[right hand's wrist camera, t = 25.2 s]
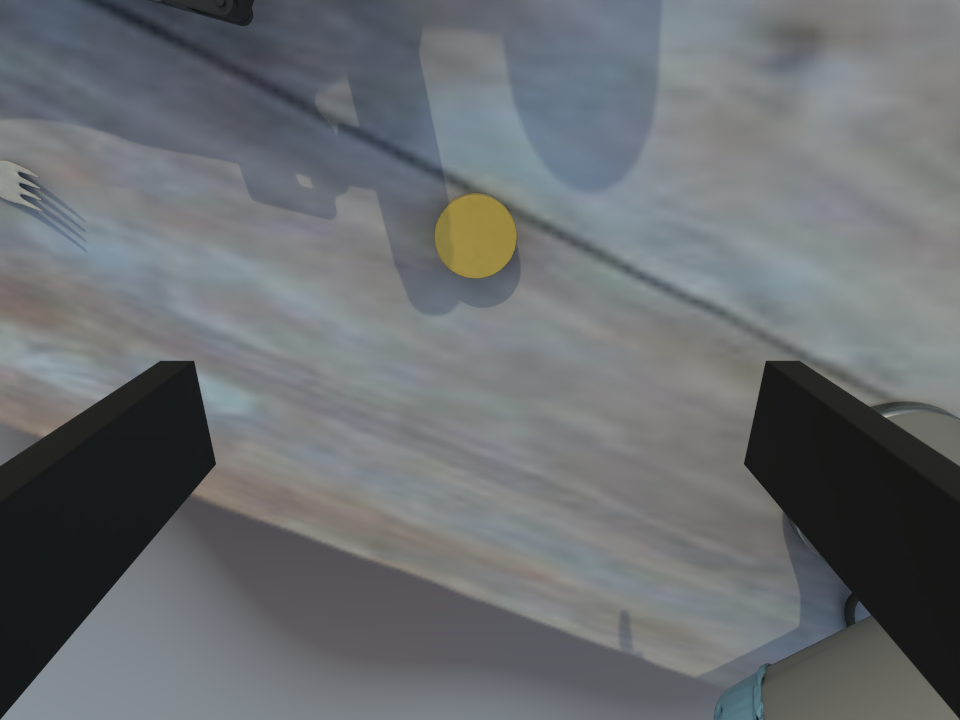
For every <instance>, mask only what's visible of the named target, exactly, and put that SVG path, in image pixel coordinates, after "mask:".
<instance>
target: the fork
mask: <svg viewBox="0 0 960 720" xmlns="http://www.w3.org/2000/svg"><path fill="white" fill-rule="evenodd" d="M18 172H23V173H26V174H29V175H32V176H35V177H38V178H39V176H38V175H36V174H35V173H33V172H31V171H29V170H27V169H25V168H23V167H21V166H19V165H16V164H14V163H12V162H9V161H0V197H1V198H3V199H6V200H8V201H10V202H14V203H18V204H22V205H25V206H28V207H31V208H34V209H36V210H38V211H40V212H43V210H41V209H40V208H38V207H36V206H35V205H33V204H31V203H30V202H28V201H26V200H24V199H23V198H22V197H21V194H24V195H27V196H30V197H33V198H35V199H38V200H42V199H40V198H39V197H37V196H36V195H34V194H32V193H30V192H28V191H27V190H25V189H23V188H21V187H20V185H19V184H20V183H23V184H26V185H29V186H32V187H35V188H38V189H41V188H40V187H38V186H37V185H35V184H33V183H31V182H29V181H28V180H26V179H24V178H22V177H20V176H19V174H18Z"/></svg>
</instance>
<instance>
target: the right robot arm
mask: <svg viewBox="0 0 960 720" xmlns="http://www.w3.org/2000/svg"><path fill="white" fill-rule="evenodd" d="M215 465H216V462H215V457H214V452H213V448H212V443H211V438H210V434H209V429H208V424H207V420H206V415H205V410H204V405H203V401H202V396H201V391H200V387H199V382H198V377H197V373H196V368H195V363H194V361H160V362H158V363H157V364H155V365H154V366H152V367H151V368H149V369H148V370H146V371H145V372H143V373H142V374H140V375H138V376H137V377H135V378H134V379H132V380H131V381H129V382H128V383H126V384H125V385H123V386H122V387H120V388H119V389H117V390H116V391H114V392H113V393H111V394H109V395H108V396H106V397H105V398H103V399H102V400H100V401H99V402H97V403H96V404H94V405H93V406H91V407H90V408H88V409H87V410H85V411H84V412H82V413H81V414H79V415H77V416H76V417H74V418H73V419H71V420H70V421H68V422H67V423H65V424H64V425H62V426H61V427H59V428H58V429H56V430H55V431H53V432H52V433H50V434H49V435H47V436H45V437H44V438H42V439H41V440H39V441H38V442H36V443H35V444H33V445H32V446H30V447H29V448H27V449H26V450H24V451H23V452H21V453H20V454H18V455H17V456H15V457H13V458H12V459H10V460H9V461H7V462H6V463H4V464H3V465H1V466H0V719H1V718H2V717H3V716H4V714H5V713H6V712H7V711H8V710H9V709H10V707H11V706H12V705H13V704H14V703H15V701H16V700H17V699H18V698H19V697H20V695H21V694H22V693H23V692H24V691H25V690H26V688H27V687H28V686H29V685H30V684H31V683H32V681H33V680H34V679H35V678H36V677H37V675H38V674H39V673H40V672H41V671H42V669H43V668H44V667H45V666H46V665H47V664H48V662H49V661H50V660H51V659H52V658H53V656H54V655H55V654H56V653H57V652H58V651H59V649H60V648H61V647H62V646H63V645H64V643H65V642H66V641H67V640H68V639H69V638H70V636H71V635H72V634H73V633H74V632H75V630H76V629H77V628H78V627H79V626H80V624H81V623H82V622H83V621H84V620H85V619H86V617H87V616H88V615H89V614H90V613H91V611H92V610H93V609H94V608H95V607H96V605H97V604H98V603H99V602H100V601H101V600H102V598H103V597H104V596H105V595H106V594H107V593H108V591H109V590H110V589H111V588H112V587H113V585H114V584H115V583H116V582H117V581H118V579H119V578H120V577H121V576H122V575H123V574H124V572H125V571H126V570H127V569H128V568H129V566H130V565H131V564H132V563H133V562H134V560H135V559H136V558H137V557H138V556H139V555H140V553H141V552H142V551H143V550H144V549H145V547H146V546H147V545H148V544H149V543H150V542H151V540H152V539H153V538H154V537H155V536H156V535H157V533H158V532H159V531H160V530H161V529H162V527H163V526H164V525H165V524H166V523H167V521H168V520H169V519H170V518H171V517H172V516H173V514H174V513H175V512H176V511H177V510H178V508H179V507H180V506H181V505H182V504H183V502H184V501H185V500H186V499H187V498H188V497H189V495H190V494H191V493H192V492H193V491H194V490H195V488H196V487H197V486H198V485H199V484H200V482H201V481H202V480H203V479H204V478H205V476H206V475H207V474H208V473H209V472H210V471H211V469H212V468H213V467H214V466H215ZM744 465H745V466H746V467H747V468H748V469H749V471H750V472H751V473H752V474H753V475H754V476H755V478H756V479H757V480H758V481H759V482H760V484H761V485H762V486H763V487H764V488H765V490H766V491H767V492H768V493H769V494H770V495H771V497H772V498H773V499H774V500H775V501H776V503H777V504H778V505H779V506H780V507H781V508H782V510H783V511H784V512H785V513H786V514H787V516H788V519H789V522H790V524H791V526H792V527H793V529H794V530H795V532H796V533H797V534H798V536H799V537H800V538H801V539H802V540H803V542H804V543H805V544H806V545H807V546H808V548H809V549H810V550H811V551H812V552H813V553H815V554H816V555H817V556H819V557H820V558H822V559H823V560H824V561H826V562H827V563H828V564H829V565H830V566H831V568H832V569H833V570H834V571H835V572H836V574H837V575H838V576H839V577H840V578H841V579H842V581H843V582H844V583H845V584H846V585H847V587H848V588H849V589H850V590H851V591H852V594H851V595H850V596H849V597H848V599H847V601H846V604H845V620H846V624H847V628H845V629H843V630H841V631H839V632H837V633H835V634H833V635H831V636H829V637H827V638H825V639H823V640H821V641H819V642H817V643H815V644H813V645H811V646H809V647H807V648H805V649H803V650H801V651H799V652H797V653H795V654H793V655H791V656H789V657H786V658H784V659H782V660H780V661H778V662H776V663H774V664H770V663H767V664H764V665H762V666H761V667H760V668H759V669H758V671H757V672H756V673H755V674H753V675H751V676H750V677H748V678H746V679H744V680H743V681H741V682H739V683H738V684H736V685H734V686H733V687H731V688H729V689H727V690H726V691H725V692H724V693H723V694H722V695H721V696H720V698H719V700H718V701H717V704H716V707H715V713H714V720H960V419H959V418H958V417H956V416H954V415H952V414H950V413H949V412H947V411H945V410H943V409H941V408H938V407H935V406H932V405H928V404H923V403H916V402H895V403H888V404H882V405H878V406H873V407H869V406H867V405H866V404H864V403H863V402H861V401H860V400H858V399H857V398H855V397H854V396H852V395H851V394H849V393H847V392H846V391H844V390H843V389H841V388H840V387H838V386H837V385H835V384H834V383H832V382H831V381H829V380H828V379H826V378H825V377H823V376H822V375H820V374H818V373H817V372H815V371H814V370H812V369H811V368H809V367H808V366H806V365H805V364H803V363H802V362H800V361H766V363H765V368H764V373H763V377H762V382H761V387H760V391H759V396H758V401H757V405H756V410H755V415H754V420H753V424H752V429H751V434H750V438H749V443H748V448H747V452H746V457H745V462H744ZM858 601H860V602H861V603H862V604H863V606H864V607H865V608H866V609H867V610H868V611H869V613H870V614H871V616H869V617H867V618H865V619H863V620H861V621H859V622H857V623H855V618H854V612H855V607H856V604H857V603H858Z"/></svg>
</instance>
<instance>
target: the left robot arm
mask: <svg viewBox="0 0 960 720" xmlns="http://www.w3.org/2000/svg"><path fill="white" fill-rule="evenodd" d="M149 1H153V2H157V3H160V4H164V5H167V6H171V7H175V8H178V9H182V10H185V11H189V12H193V13H196V14H200V15H203V16H207V17H211V18H214V19H218V20H221V21H225V22H229V23H232V24H236V25H239V26H247V25H249V24H250V23H251V21H252V19H253V11H252V5H253V2H254V0H149Z"/></svg>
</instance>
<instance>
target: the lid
mask: <svg viewBox="0 0 960 720" xmlns="http://www.w3.org/2000/svg"><path fill="white" fill-rule="evenodd" d="M516 238H517V235H516V228H515V224H514V221H513V219H512V217H511V215H510V213H509V211H508V210H507V208H506V207H505V206H504V205H503V204H502V203H501V202H500V201H498V200H497V199H495V198H493V197H491V196H489V195H486V194H481V193H471V194H466V195H462V196H460V197H458V198H456V199H454V200H453V201H452V202H450V203H449V204H448V205H447V206H446V208H445V209H444V210H443V212H442V214H441V215H440V217H439V219H438V221H437V224H436V228H435V246H436V249H437V252H438V255H439V256H440V258H441V260H442V261H443V263H444V264H445V265H446V266H447V267H448V268H449V269H450V270H452V271H453V272H455V273H456V274H458V275H461V276H463V277H467V278H484V277H488V276H491V275H493V274H495V273H497V272H498V271H500V270H501V269H502V268H503V267H504V266H505V265H506V264H507V263H508V262H509V260H510V259H511V257H512V255H513V253H514V250H515V246H516Z"/></svg>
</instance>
